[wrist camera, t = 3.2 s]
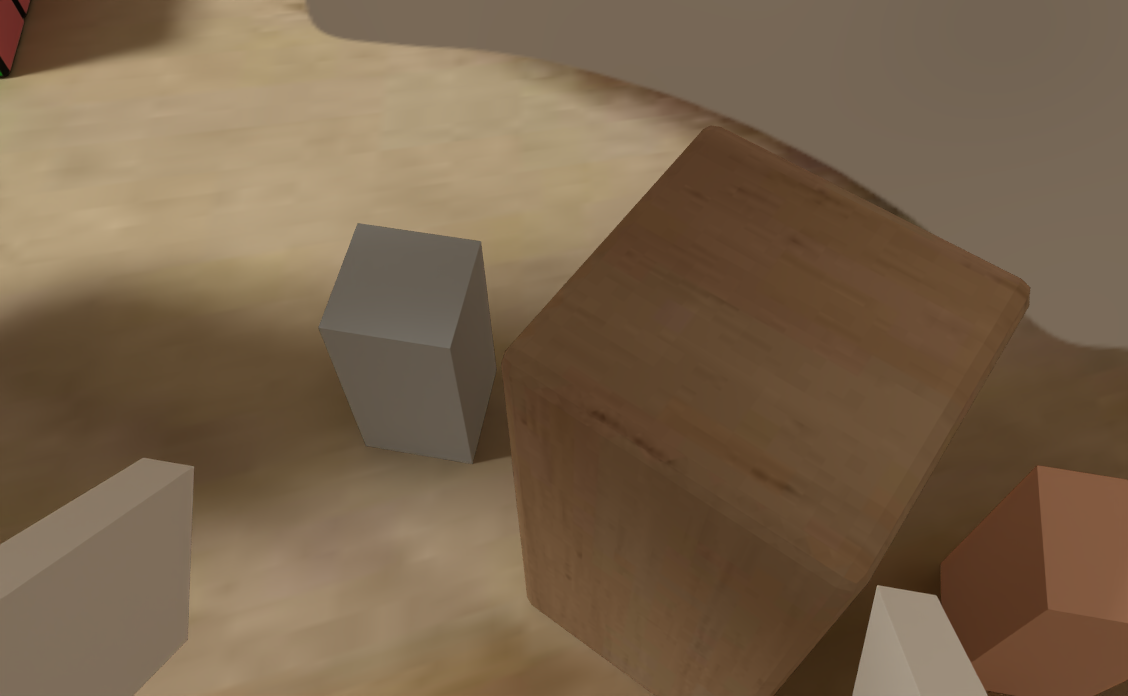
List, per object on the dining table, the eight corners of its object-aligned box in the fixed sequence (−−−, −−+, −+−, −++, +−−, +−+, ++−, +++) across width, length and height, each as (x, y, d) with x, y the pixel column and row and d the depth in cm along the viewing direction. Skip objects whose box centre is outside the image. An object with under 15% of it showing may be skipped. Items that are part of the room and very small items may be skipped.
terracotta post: (1071, 706, 38) (1215, 638, 30) (942, 682, 39) (1047, 609, 30) (1061, 584, 41) (1191, 489, 32) (940, 563, 41) (1036, 465, 33)
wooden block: (654, 428, 45) (709, 112, 28) (849, 551, 42) (1044, 281, 25) (522, 601, 41) (491, 354, 24) (728, 752, 38) (863, 594, 20)
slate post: (472, 463, 44) (450, 348, 35) (365, 445, 44) (318, 327, 36) (496, 369, 47) (480, 241, 38) (395, 353, 47) (357, 223, 38)
